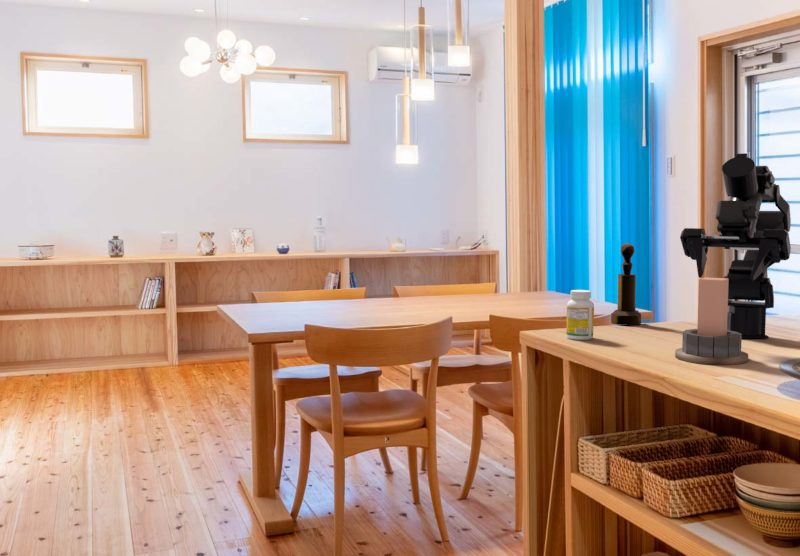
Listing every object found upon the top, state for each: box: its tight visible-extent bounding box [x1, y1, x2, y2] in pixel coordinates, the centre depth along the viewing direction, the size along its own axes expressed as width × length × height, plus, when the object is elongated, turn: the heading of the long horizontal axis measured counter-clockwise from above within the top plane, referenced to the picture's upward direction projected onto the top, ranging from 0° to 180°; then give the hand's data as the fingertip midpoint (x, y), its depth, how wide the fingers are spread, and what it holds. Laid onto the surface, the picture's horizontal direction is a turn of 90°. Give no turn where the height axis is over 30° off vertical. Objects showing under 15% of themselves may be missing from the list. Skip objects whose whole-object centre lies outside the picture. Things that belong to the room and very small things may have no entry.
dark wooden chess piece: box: [610, 243, 642, 326], centre depth 187 cm, size 7×6×18 cm
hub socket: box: [674, 328, 749, 366], centre depth 146 cm, size 12×12×4 cm
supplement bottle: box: [566, 289, 595, 341], centre depth 168 cm, size 5×5×10 cm
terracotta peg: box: [696, 276, 729, 336], centre depth 145 cm, size 4×4×13 cm
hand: (725, 277), depth 151 cm, fingers open, 9 cm apart
